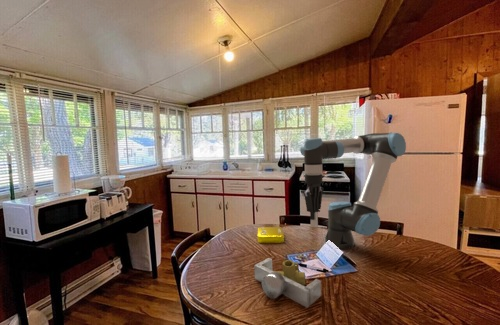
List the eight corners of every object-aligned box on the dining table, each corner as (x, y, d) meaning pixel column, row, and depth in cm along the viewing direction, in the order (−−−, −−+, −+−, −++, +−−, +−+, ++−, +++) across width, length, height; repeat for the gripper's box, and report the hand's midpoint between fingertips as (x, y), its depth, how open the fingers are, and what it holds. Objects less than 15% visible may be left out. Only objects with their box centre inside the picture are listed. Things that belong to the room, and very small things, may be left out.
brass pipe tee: (305, 291, 97) (305, 274, 106) (303, 268, 95) (304, 253, 104) (273, 289, 100) (276, 273, 109) (270, 267, 98) (274, 252, 107)
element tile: (284, 243, 140) (284, 235, 140) (257, 243, 141) (257, 235, 140) (281, 233, 155) (281, 226, 154) (258, 233, 156) (257, 226, 155)
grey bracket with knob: (269, 270, 111) (268, 253, 110) (320, 296, 92) (320, 275, 91) (246, 283, 102) (245, 265, 101) (298, 315, 83) (298, 292, 82)
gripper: (314, 171, 115) (314, 220, 118) (297, 175, 107) (298, 228, 109) (328, 172, 110) (329, 224, 112) (312, 176, 101) (313, 232, 104)
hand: (314, 226), depth 111 cm, fingers closed
